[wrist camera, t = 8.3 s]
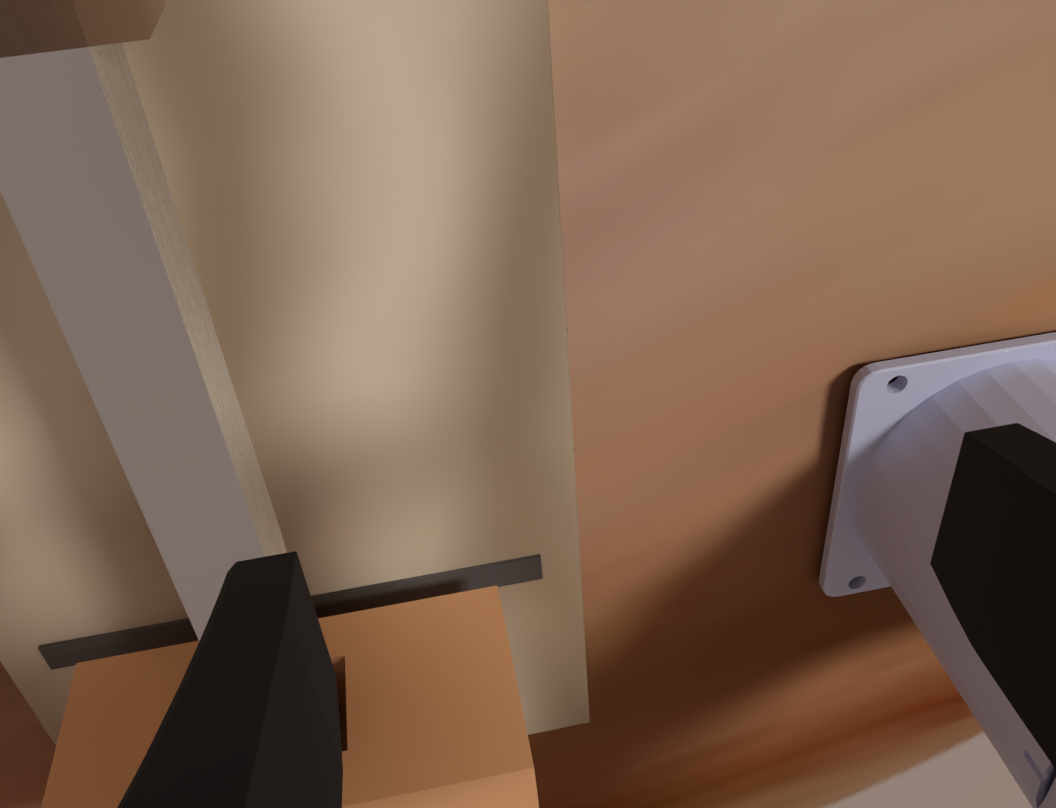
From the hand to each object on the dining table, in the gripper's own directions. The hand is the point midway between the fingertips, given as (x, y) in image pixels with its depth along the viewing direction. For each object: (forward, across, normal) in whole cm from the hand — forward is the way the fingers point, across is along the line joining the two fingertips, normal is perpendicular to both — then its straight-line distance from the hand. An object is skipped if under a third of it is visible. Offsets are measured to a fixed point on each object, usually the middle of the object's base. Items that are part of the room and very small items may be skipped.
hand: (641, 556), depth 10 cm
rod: (+7, +6, +5) cm, 10 cm away
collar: (+8, +6, +11) cm, 15 cm away
